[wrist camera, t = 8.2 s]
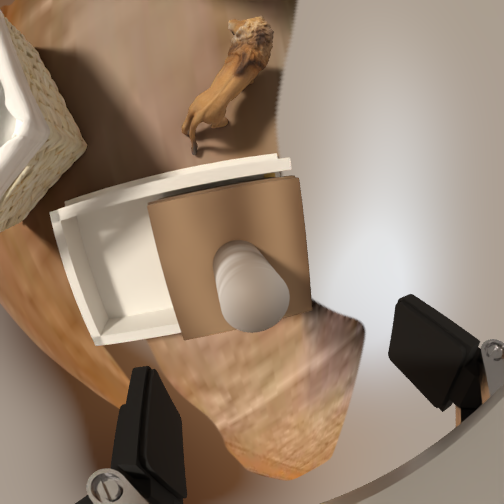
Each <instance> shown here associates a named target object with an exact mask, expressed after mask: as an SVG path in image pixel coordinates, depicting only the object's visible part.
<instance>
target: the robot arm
mask: <svg viewBox="0 0 504 504" xmlns="http://www.w3.org/2000/svg"><path fill="white" fill-rule="evenodd" d="M479 343H480V341H479V340H478V339H477V338H475V337H474V336H472V335H471V334H470V333H468V332H467V331H465V330H464V329H462V328H461V327H460V326H458V325H457V324H456V323H454V322H453V321H451V320H450V319H448V318H447V317H446V316H444V315H443V314H441V313H440V312H438V311H437V310H435V309H434V308H432V307H431V306H429V305H428V304H426V303H425V302H423V301H422V300H420V299H419V298H417V297H416V296H414V295H412V294H409V295H407V296H405V297H402V298H400V299H399V300H398V303H397V304H396V306H395V314H394V321H393V329H392V335H391V341H390V346H389V352H388V356H389V358H390V360H391V361H392V362H393V363H394V364H395V366H396V367H397V368H398V369H399V370H400V371H401V372H402V373H403V374H404V375H405V376H406V377H407V378H408V379H409V380H410V381H411V382H412V383H413V384H414V385H415V386H416V388H417V389H418V390H419V391H420V392H421V393H422V394H423V395H424V396H425V397H426V398H427V399H428V400H429V401H430V402H431V403H432V404H433V406H434V407H436V408H439V409H440V410H441V411H442V412H443V411H445V410H446V409H447V408H448V407H450V406H451V405H452V403H454V404H455V405H456V428H455V429H454V430H452V431H451V432H450V433H448V434H447V435H446V436H444V437H443V438H442V439H440V440H439V441H438V442H436V443H435V444H434V445H432V446H431V447H429V448H428V449H426V450H425V451H423V452H422V453H421V454H419V455H418V456H416V457H415V458H413V459H411V460H410V461H408V462H406V463H405V464H403V465H401V466H400V467H398V468H396V469H394V470H393V471H391V472H389V473H387V474H386V475H384V476H382V477H380V478H378V479H376V480H374V481H372V482H370V483H368V484H366V485H364V486H362V487H360V488H357V489H355V490H353V491H351V492H349V493H346V494H344V495H341V496H339V497H336V498H334V499H331V500H329V501H326V502H323V503H320V504H504V343H503V342H501V341H499V340H494V339H492V340H487V341H485V342H484V343H483V344H482V346H481V349H480V348H479V347H478V346H479ZM86 487H87V493H88V495H87V496H86V497H84V498H83V499H81V500H80V501H78V502H77V503H76V504H183V498H186V497H187V489H186V478H185V467H184V454H183V437H182V421H181V417H180V414H179V413H178V411H177V409H176V407H175V405H174V404H173V402H172V400H171V398H170V396H169V394H168V392H167V390H166V388H165V387H164V385H163V383H162V381H161V379H160V377H159V375H158V372H157V371H156V370H155V369H151V368H150V367H149V366H144V367H137V368H134V369H133V371H132V375H131V380H130V385H129V390H128V395H127V401H126V404H124V405H122V406H121V407H120V411H119V416H118V421H117V427H116V433H115V440H114V447H113V454H112V461H111V469H101V470H99V471H96V472H95V473H94V474H92V475H91V476H90V478H89V480H88V482H87V486H86Z"/></svg>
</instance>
